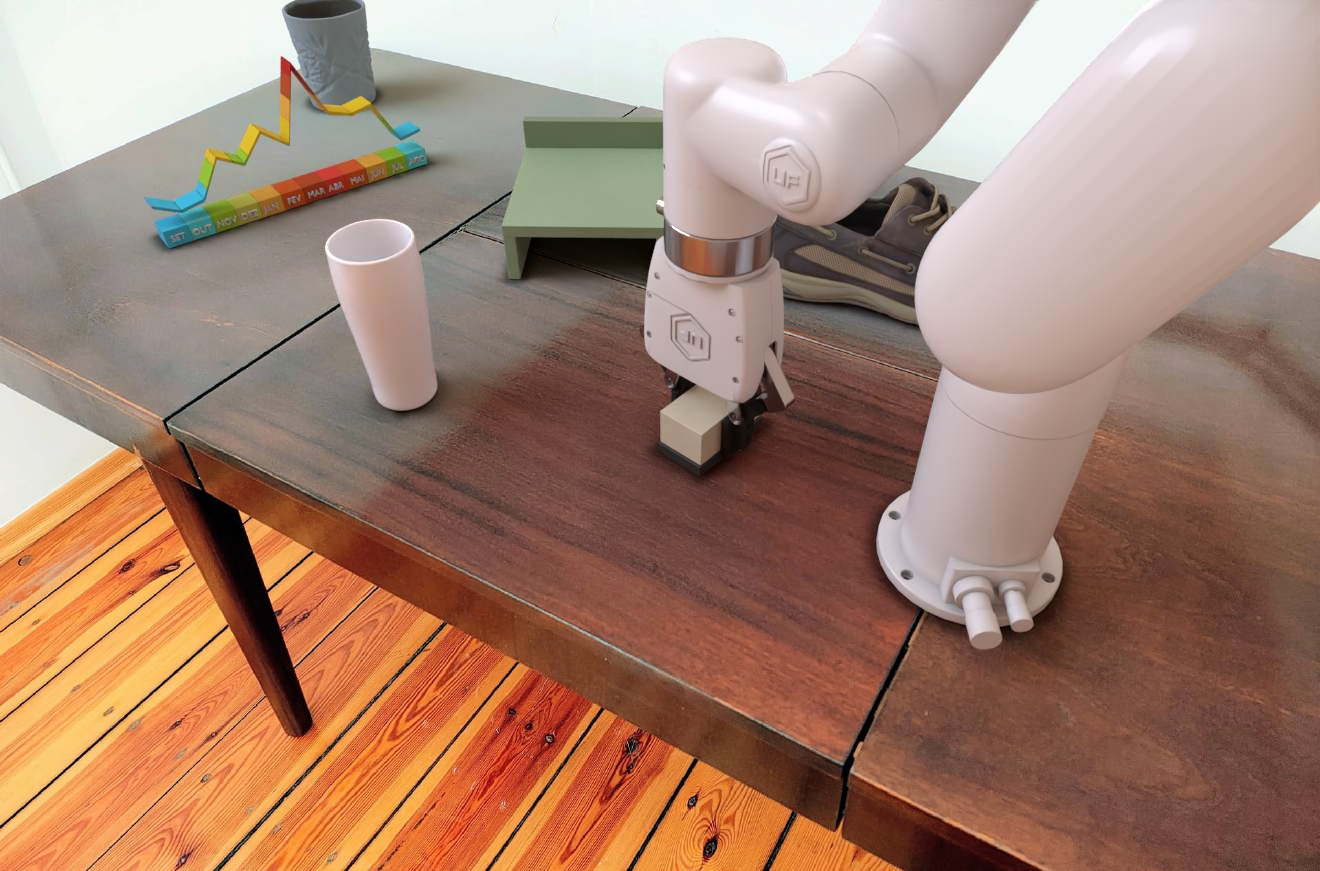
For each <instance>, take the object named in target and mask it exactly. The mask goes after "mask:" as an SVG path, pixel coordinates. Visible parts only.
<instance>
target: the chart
mask: <svg viewBox="0 0 1320 871" xmlns="http://www.w3.org/2000/svg"><path fill="white" fill-rule="evenodd" d="M279 66H280V69H279V71H280V74H279V75H280V76H279V77H280V78H279V79H280V80H279V134H277V133H274V132H273V131H270V130H268V129H266V128H263V127H261V126H259V125H257V124H255V123H252V122H249V125H248V127H247V129H246V131H245V133H244V135H243V138H242V139H241V141H240V144H239V146H238V148H237V149H236V152H235V153H230V152H227V151H222V150H218V149H213V148H209V147H207V148H206V150H205V153H204V158H203V160H202V164H201V168H200V172H199V176H198V180H197V183H196V186H195V189H193V190H191V191H190V192H188V193H185V194H183V195H181V196H179V197H177V198H175V199H172V200H171V199H163V198H157V197H151V196H150V197H149V196H143V198H144V201H145V202H146V203H147V204H148V205H149V207H150V208H151V209H152V210H153V211H162V212H171V213H177V214H173V215H170V216H167V217H163V218H160V219H157V220H154V221H153V223H154V226H155V228H156V230H157V233H158V235H159V238H160V239H161V240H162V241H163V242H164V244H165V245H166V247H167V248H168V249H172V248H175V247H178V246H180V245H183V244H187V243H190V242H193V241H197V240H199V239H202V238H205V237H209V236H211V235H216V234H218V233H221V232H224V231H227V230H229V229H230V230H231V229H233V228H237V227H239V226H242V225H246V224H248V223H251V222H252V223H253V222H255V221H257V220H261V219H263V218H267V217H269V216H273V215H276V214H279V213H282V212H285V211H288V210H291V209H294V208H298V207H300V206H303V205H306V204H309V203H313V202H315V201H319V200H321V199H325V198H327V197H331V196H333V195H337V194H340V193H343V192H345V191H349V190H352V189H355V188H359V187H361V186H364V185H367V184H370V183H374V182H377V181H379V180H383V179H386V178H389V177H391V176H394V175H397V174H400V173H404V172H406V171H409V170H411V169H415V168H417V167H421V166H424V165H427V164H428V160H427V154H426V149H425V147H423V146H422V145H421V144H419V143H418V142H416V141H415V140H414V139H412V140H408V141H405V140H406V139H408V138H410V137H411V136H414V135H416V134H418V133H419V132H421V128H420V127H419V126H418V125H416V124H414V123H413V122H412V121H410V120H408V121H406V122H404V123H402V124H400V125H398V126H396V127H394V128H393V127H392V126H391V125H390V124H389V122H388V121H387V120H386V119H385V118H384V116H383V115H382V114H381V113H380V112H379V110H378V109H377V108H376V107H375V106H374V105H373V103H372V102H371V103H370V102H369V101H367V100H366V99H365V98H363V97H362V96H360V97H358V98H356V99H354V100H352V101H350V102H347V103H345V104H343V105H342V106H340V105H327V104H322V103H321V102H320V100H319V99H318V98H317V96H316V95H315V94H314V92H313V91H312V90H311V89H310V87H309V86H308V85H307V83H306V82H305V78H304V77H302V76H301V74H300V73H299V72H298V70H297V68H296V67H295V66H294V65H293V63H291V61H289V59H287V58H285V57H284V56H283V55H280V65H279ZM292 74H293V75H294V76H295V78H296V79H297V80H298V82H299V83H300V85H301V86H302V87H303V88H304V90H305V91H306V93H307V94H308V96H309V95H310V96H311V97H312V99H313V100H314V101H315V103H316V104H317V105H318V107H319V108H321V109H322V110H321V111H323V112H325V113H326V114H327V115H329V116H343V117H353V116H355V115H358V114H360V113H362V112H364V111H365V110H368V109H369V110H370V111H371V112H372V113H373V114H374V116H375V117H376V118H377V119H378V120H379V122H380V123H381V124H382V125H383V126H384V127H385V129H386V130H387V131H388V132H389V133H390V134H391V135H392V136H394V137H395V138H397V139H398V140H399V141H401V142H402V141H405V142H402V143H399V144H396V145H393V146H391V147H387V148H383V149H380V150H377V151H374V152H372V153H369V154H365V155H362V156H359V157H355V158H353V159H352V158H351V159H350V160H346V161H343V162H339V163H336V164H333V165H330V166H326V167H324V168H320V169H316V170H314V171H310V172H307V173H305V174H302V175H299V176H298V175H297V176H294V177H292V178H291V177H290V178H288V179H285V180H282V181H279V182H276V183H273V184H268V185H266V186H263V187H260V188H257V189H253V190H250V191H247V192H244V193H241V194H237V195H234V196H231V197H228V198H224V199H221V200H218V201H215V202H212V203H208V204H205V205H202V206H199V205H201V204H203V203H206V200H207V196H208V192H209V189H210V187H211V182H212V180H213V175H214V172H215V168H216V164H217V161H221V162H225V163H228V164H234V165H239V166H243V167H245V166H246V165H247V164H248V162H249V159H250V157H251V155H252V153H253V151H254V149H255V147H256V145H257V143H258V141H259V139H260V137H261V136H264V137H266V138H269V139H270V140H272V141H273V140H274V141H275V142H278V143H279V144H283V145H285V146H287V147H291V104H292V103H291V100H292V99H291V98H292ZM310 96H309V97H310Z"/></svg>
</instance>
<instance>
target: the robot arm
mask: <svg viewBox="0 0 1320 871" xmlns="http://www.w3.org/2000/svg"><path fill="white" fill-rule="evenodd" d="M1039 1H1040V0H882V1H881V3H880V4H879V6H878V7H877V9H876V10H875V12H874V14H873V15H872V17H871V18H870V20H869V21H868V23H867V24H866V25H865V27H864V29H863V30H862V32H861V33H860V35H859V36H858V38H857V39H856V41H855V42H854V43H853V44H852V46H851V47H850V48H849V50H847V52H845V53H843V54H842V55H840V56H839V57H837V58H836V59H834V60H832V61H831V62H829V63H828V64H827V65H825V66H823V67H822V68H820V69H819V70H818V71H816V72H814V73H813V74H812V75H810V76H807V77H804V78H800V79H797V80H793V81H790V82H789V78H788V77H789V76H788V70H787V66H786V63H785V62H784V60H783V58H782V57H781V55H780V54H779V53H778V52H777V51H776V50H774V49H773V48H771V47H770V46H768V45H766V44H764V43H762V42H758V41H755V40H751V39H746V38H742V37H741V38H740V37H727V36H725V37H724V36H721V37H720V36H719V37H710V38H703V39H700V40H695V41H692V42H689V43H686V44H684V45H683V46H681V47H679V48H678V49H677V50H675V51H674V52H673V53H672V55H671V56H670V58H669V59H668V61H667V62H666V65H665V68H664V71H663V80H662V81H663V82H662V83H663V84H662V117H663V196H662V197H660V198H659V200H658V202H657V204H656V211H657V213H659V214H661V215H663V217H664V236H662V237H661V238H660V239H659V240H658V241H657V242H656V241H655V245H654V249H653V253H652V257H651V260H650V264H649V269H648V275H647V282H646V289H645V301H644V316H643V317H644V318H643V319H644V320H643V324H642V326H641V327H640V328H639V334H640V336H641V337H642V339H643V340H644V347H645V350H646V352H647V354H648V355H649V356H650V358H651V359H653V360H654V361H655V362H656V363H658V364H659V365H660V367H661V368H662V370H663V372H664V377H663V381H664V384H665V385H666V387H667V388H669V389H670V391H671V392H670V393H671V394H670V396H671V397H670V404H671V403H672V402H673V401H675V400H676V399H677V398H679V397H680V396H681V395H683V394H684V393H685V392H687V391H688V390H690V389H691V388H692V387H694V386H695V385H696V384H697V385H699V386H701V387H702V388H704V389H706V390H708V391H710V392H712V393H714V394H716V395H718V396H720V397H722V398H724V399H726V403H727V410H728V416H726V417H725V418H724V419H723V421H722V429H721V449H720V451H721V456H722V457H723V458H722V459H725V460H726V461H729V460H730V459H732V458H733V457H734V456H735V455H736V454H738V452H740V451H744V450H745V449H747V448H748V447H749V446H750V445H751V444H752V442H753V439H754V432H753V430H754V418H755V417H757V416H760V415H761V416H763V414H767V413H768V414H773V413H781V412H784V411H786V410H787V409H788V408H789V407H791V406H792V405H793V404H795V402H796V396H795V394H794V393H793V390H792V388H791V386H790V384H789V381H788V379H787V377H786V376H785V373H784V371H783V368H782V361H783V354H784V340H785V302H784V297H783V288H782V278H781V272H780V265H779V261H778V260H776V259H775V258H774V257H773V251H774V241H775V229H776V218H777V214H778V215H780V216H782V217H783V218H786V219H788V220H790V221H792V222H796V223H799V224H802V225H808V226H822V225H828V224H832V223H834V222H836V221H839V220H841V219H843V218H844V217H846V216H847V215H849V214H850V213H852V212H853V211H854V210H855V209H856V208H858V207H859V206H860V205H861V204H862V203H863V202H864V201H865V200H866V199H868V198H871V196H872V195H873V194H875V192H877V190H879V189H880V188H881V187H882V186H883V185H884V184H885V183H886V182H887V181H888V180H890V179H891V177H893V176H894V175H895V174H896V173H897V172H898V171H899V170H900V169H901V168H903V167H904V166H905V165H906V164H907V163H909V162H910V161H911V160H913V158H915V156H917V155H918V153H920V152H921V151H922V150H923V149H924V148H925V147H926V146H927V145H928V144H929V143H930V142H931V140H932V139H933V138H934V137H935V136H936V135H937V133H938V132H939V131H940V130H941V129H942V127H943V126H944V125H945V124H946V122H948V120H950V117H951V116H952V115H953V114H954V112H955V111H956V110H957V109H958V108H959V106H960V105H961V104H962V103H963V101H964V100H965V98H966V97H967V96H968V95H969V94H970V93H971V91H972V90H973V88H974V87H975V86H976V85H977V83H978V82H979V81H980V79H981V78H982V77H983V76H984V75H985V73H986V72H987V71H988V69H989V68H990V67H991V66H992V64H993V63H994V62H995V60H996V59H997V58H998V56H999V55H1000V54H1001V52H1002V51H1003V50H1004V48H1006V46H1007V45H1008V43H1009V42H1010V41H1011V39H1012V38H1013V36H1014V35H1015V34H1016V32H1017V31H1018V29H1019V28H1020V27H1021V25H1022V24H1023V22H1024V21H1025V20H1026V18H1027V17H1028V15H1029V14H1030V12H1031V11H1032V9H1033V8H1034V7H1035V6H1036V5H1037V4H1038V3H1039ZM1318 204H1320V0H1148V1H1147V3H1145V4H1144V5H1143V6H1142V7H1141V8H1140V9H1139V10H1138V11H1137V12H1136V13H1135V14H1134V15H1133V16H1132V17H1131V18H1130V20H1128V22H1127V23H1126V24H1124V26H1123V27H1122V28H1121V29H1120V30H1119V31H1118V32H1117V33H1116V34H1115V35H1114V37H1112V39H1111V40H1110V41H1109V42H1108V43H1107V44H1106V45H1105V46H1104V48H1102V50H1101V51H1100V52H1099V53H1098V54H1097V55H1096V56H1095V57H1094V58H1093V60H1092V61H1091V62H1089V64H1087V66H1086V67H1085V68H1084V70H1082V71H1081V73H1080V74H1079V75H1078V76H1077V77H1076V78H1075V80H1073V82H1072V83H1071V84H1070V85H1069V86H1068V87H1067V89H1066V90H1064V91H1063V93H1062V94H1061V95H1060V96H1059V97H1058V99H1057V100H1056V101H1055V102H1054V103H1053V104H1052V105H1051V106H1050V107H1049V108H1048V110H1047V111H1046V112H1045V113H1044V114H1043V115H1042V116H1041V117H1040V118H1039V120H1037V122H1035V124H1034V125H1033V126H1032V127H1031V128H1030V130H1028V132H1026V134H1024V136H1023V137H1022V138H1021V140H1019V142H1017V144H1016V145H1015V146H1014V147H1012V149H1011V150H1010V151H1009V153H1008V154H1007V155H1006V156H1005V157H1004V158H1003V159H1002V161H1000V162H999V164H998V165H997V166H995V168H994V169H993V170H992V171H991V172H990V174H988V175H987V177H986V178H985V179H984V180H983V181H982V182H981V183H980V185H979V186H977V188H976V189H975V190H974V191H973V192H972V194H970V196H968V197H967V199H966V200H965V201H964V202H963V203H962V204H961V205H960V206H959V207H958V208H957V209H956V211H955V212H954V214H953V215H952V216H951V217H950V218H949V219H948V220H947V221H946V222H945V224H944V225H943V226H942V227H941V228H940V229H939V230H938V232H937V233H936V234H935V235H934V237H933V238H932V240H931V242H930V243H929V245H928V247H927V249H926V251H925V253H924V255H923V257H922V260H921V262H920V266H919V269H918V272H917V278H916V283H915V309H916V315H917V320H918V324H919V325H918V326H919V330H920V332H921V335H922V337H923V340H924V342H925V343H926V345H927V348H928V349H929V350H930V352H931V353H932V355H933V356H934V358H935V359H936V360H937V361H938V363H940V365H941V369H940V373H939V376H938V380H937V383H936V388H935V392H934V396H933V400H932V403H931V408H930V412H929V416H928V420H927V423H926V427H925V428H926V429H925V432H924V436H923V440H922V445H921V448H920V452H919V456H918V460H917V463H916V464H917V465H916V468H915V472H914V476H913V481H912V483H911V484H912V485H911V488H910V490H908V491H906V492H904V493H902V494H901V495H899V496H898V497H896V498H895V499H894V500H893V501H892V502H891V503H890V504H889V505H888V506H887V508H885V510H884V512H883V513H882V516H881V518H880V521H879V524H878V527H877V533H876V537H875V542H876V553H877V557H878V561H879V563H880V566H881V567H882V570H883V571H884V573H885V575H886V577H887V579H888V580H889V581H890V582H891V583H892V585H893V586H894V587H895V588H896V589H897V591H898V592H899V593H900V594H902V595H903V596H904V597H905V598H907V599H908V600H909V601H910V602H911V603H913V604H915V605H916V606H918V607H919V608H921V609H922V610H923V611H925V612H927V613H928V614H929V613H930V614H931V615H934V616H937V617H938V618H941V619H943V620H946V621H950V622H953V623H957V624H960V625H963V626H965V627H966V630H967V634H968V638H969V642H970V644H971V646H972V647H973V648H974V649H977V650H983V651H986V650H991V649H994V648H996V647H998V646H1000V644H1001V643H1002V642H1003V634H1002V632H1001V628H1000V627H1006V626H1010V629H1011V630H1012V631H1014V632H1017V633H1024V632H1028V631H1030V630H1032V629H1033V627H1034V620H1033V618H1034V617H1035V616H1036V615H1038V614H1039V613H1041V612H1042V611H1043V610H1045V609H1046V607H1047V606H1048V605H1049V604H1050V603H1051V601H1053V599H1054V596H1055V595H1056V592H1058V589H1059V586H1060V584H1061V580H1062V577H1063V557H1062V553H1061V550H1060V547H1059V545H1058V543H1057V540H1056V538H1055V537H1054V533H1055V532H1056V528H1057V526H1058V524H1059V521H1060V520H1061V517H1062V514H1063V512H1064V510H1065V507H1066V505H1067V502H1068V500H1069V498H1070V496H1071V492H1072V490H1073V489H1074V486H1075V483H1076V480H1077V479H1078V475H1079V473H1080V472H1081V469H1082V467H1083V464H1084V462H1085V459H1086V456H1087V455H1088V452H1089V449H1090V447H1091V445H1092V443H1093V440H1094V438H1095V435H1096V433H1097V430H1098V428H1099V426H1100V423H1101V421H1102V419H1103V418H1104V416H1105V414H1106V411H1107V409H1108V406H1109V404H1110V402H1111V399H1112V398H1113V395H1114V393H1115V390H1116V388H1117V386H1118V383H1119V380H1120V377H1121V375H1122V373H1123V371H1124V369H1125V366H1126V364H1127V362H1128V360H1129V357H1130V355H1131V352H1132V350H1133V348H1134V346H1136V345H1137V344H1138V343H1140V341H1142V340H1143V339H1145V338H1146V337H1148V336H1150V334H1152V333H1153V332H1155V331H1156V330H1157V329H1159V328H1161V327H1162V326H1163V325H1165V324H1166V323H1167V322H1169V321H1170V320H1171V319H1172V318H1174V317H1175V316H1177V315H1178V314H1180V313H1181V312H1182V311H1184V310H1185V309H1186V308H1188V307H1189V306H1190V305H1192V304H1193V303H1194V302H1197V300H1199V299H1200V298H1202V297H1203V296H1205V294H1207V293H1208V292H1210V291H1211V290H1212V289H1214V288H1215V287H1216V286H1218V285H1219V284H1221V283H1222V282H1223V281H1225V280H1226V279H1227V278H1229V277H1230V276H1231V275H1233V274H1235V272H1237V271H1238V270H1240V269H1241V268H1242V267H1244V266H1245V265H1247V264H1248V263H1249V262H1250V261H1252V260H1253V259H1254V258H1256V257H1257V256H1259V255H1260V254H1261V253H1263V252H1264V251H1265V250H1266V249H1268V248H1269V247H1271V246H1272V245H1273V244H1275V243H1276V242H1277V241H1278V240H1279V239H1281V238H1282V237H1283V236H1285V235H1286V234H1287V233H1288V232H1290V231H1291V230H1292V229H1293V228H1294V227H1295V226H1296V225H1298V223H1300V222H1301V221H1302V220H1303V219H1304V218H1305V217H1306V216H1308V214H1310V212H1311V211H1313V209H1315V207H1317V205H1318ZM761 384H762V386H763V388H764V391H762V387H761Z"/></svg>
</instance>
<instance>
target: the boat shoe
mask: <svg viewBox="0 0 1320 871" xmlns="http://www.w3.org/2000/svg"><path fill="white" fill-rule="evenodd" d="M957 210H958V208H957V206H955V205H952V204H951V201H950V198H949V197H948V195H947V194H945V193H940V189H939V187H938V185H937V184H935V183H932V182H929V180H927V179H926V178H925V177H922V176H915V177H912V178H909V179H907V180H905V181H903V182H902V183H900V184H899V185H897V186H896V187H894V188H893V189H891V190H889V192H888V193H887V194H886V195H885V196H884V197H880V198H876V197H875V198H874V197H869V198H868V199H866V200H865V201H864V202H863V203H862V204H861V205H860V206H859V207H858V208H856V209H855V210H854V211H853V212H852V213H850V214H849V215H847V216H846V217H844V218H843V219H841V220H839V221H836V222H834V223H832V224H828V225H822V226H808V225H802V224H799V223H796V222H792V221H790V220H788V219H786V218H783V217H782V216H780V215H778V214H777V218H776V229H775V241H774V251H773V257H774V258H775V259H776V260H778V261H779V265H780V272H781V278H782V288H783V298H787V299H792V300H797V301H804V302H813V303H841V304H849V305H853V306H858V307H862V308H866V309H868V310H870V311H871V310H872V311H874V312H877V313H880V314H885V315H888V316H889V317H891V318H892V319H895V320H899V321H901V322H905V323H907V324H914V325H917V326H919V324H918V320H917V315H916V309H915V283H916V278H917V272H918V269H919V266H920V262H921V260H922V257H923V255H924V253H925V251H926V249H927V247H928V245H929V243H930V242H931V240H932V238H933V237H934V235H935V234H936V233H937V232H938V230H939V229H940V228H941V227H942V226H943V225H944V224H945V222H946V221H947V220H948V219H949V218H950V217H951V216H952V215H953V214H954V213H955V212H956V211H957Z"/></svg>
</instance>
